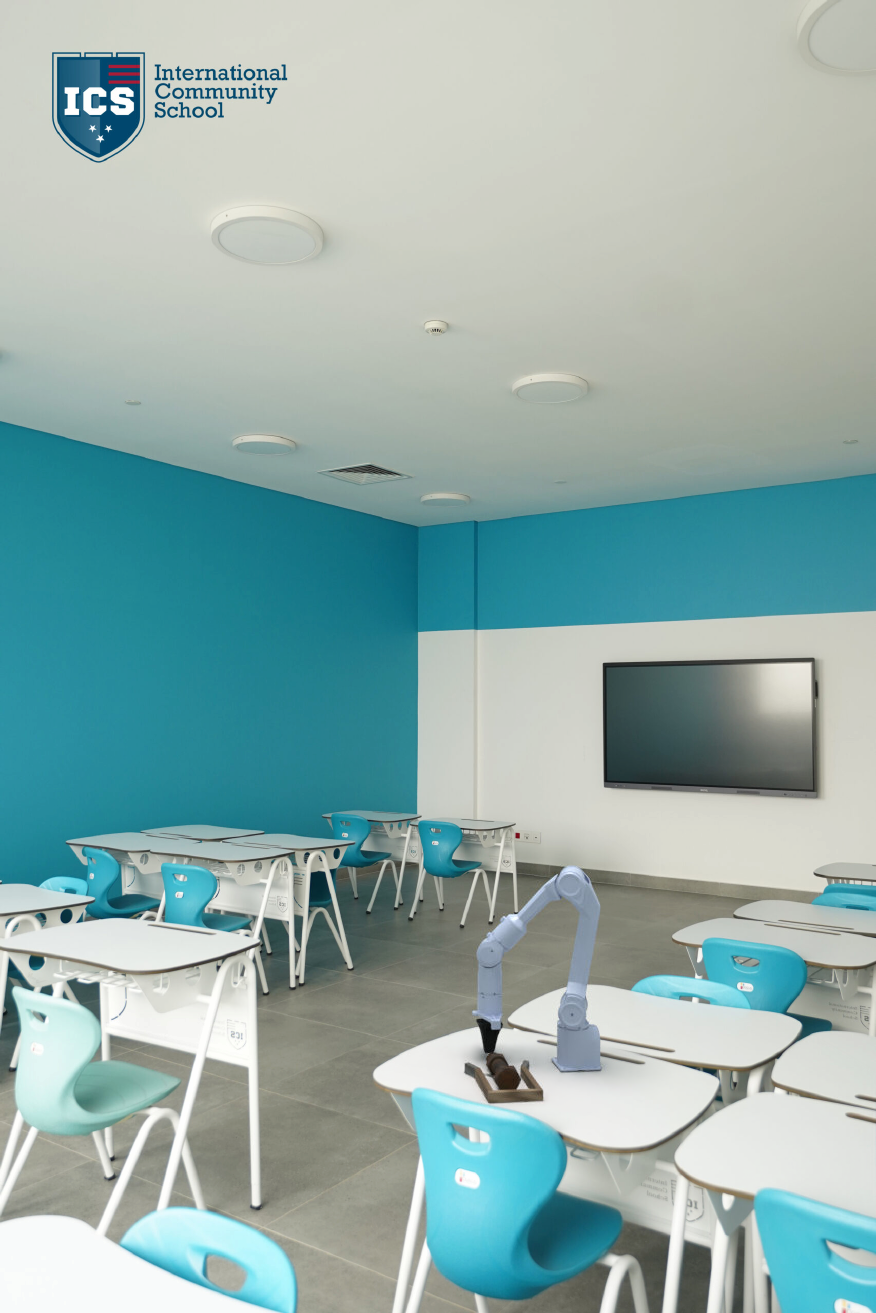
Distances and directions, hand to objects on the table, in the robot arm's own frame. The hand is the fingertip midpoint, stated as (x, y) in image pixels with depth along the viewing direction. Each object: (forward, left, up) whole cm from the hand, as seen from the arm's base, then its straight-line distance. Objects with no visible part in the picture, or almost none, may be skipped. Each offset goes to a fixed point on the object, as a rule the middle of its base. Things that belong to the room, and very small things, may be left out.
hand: (489, 1052), depth 219 cm
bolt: (0, +13, -2) cm, 14 cm away
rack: (0, +17, -1) cm, 17 cm away
